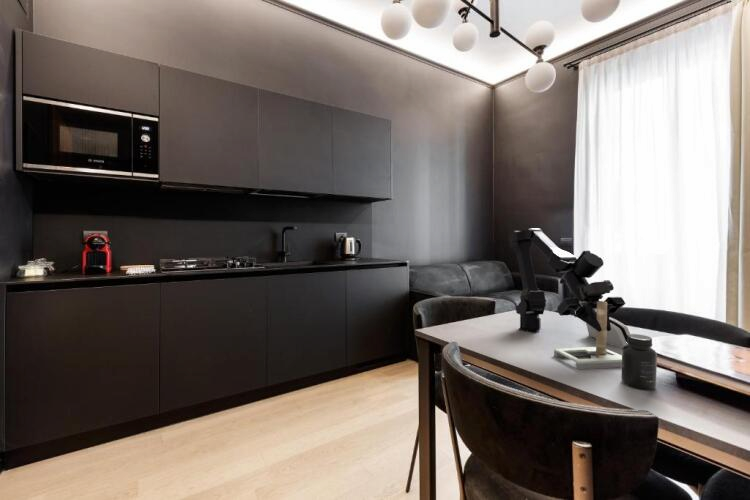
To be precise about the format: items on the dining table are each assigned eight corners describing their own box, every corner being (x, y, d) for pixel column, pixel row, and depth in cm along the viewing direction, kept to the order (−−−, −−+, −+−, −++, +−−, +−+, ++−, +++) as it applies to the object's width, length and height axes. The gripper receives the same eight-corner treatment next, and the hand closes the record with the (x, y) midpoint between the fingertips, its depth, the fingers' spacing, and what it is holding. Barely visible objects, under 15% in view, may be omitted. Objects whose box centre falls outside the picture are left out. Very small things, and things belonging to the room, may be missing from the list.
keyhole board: (579, 369, 95) (579, 361, 95) (554, 355, 106) (554, 348, 106) (630, 366, 97) (630, 359, 97) (600, 353, 108) (600, 346, 108)
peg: (594, 361, 100) (595, 303, 99) (588, 355, 105) (589, 300, 104) (614, 363, 99) (615, 303, 98) (607, 357, 104) (608, 300, 103)
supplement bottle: (614, 379, 88) (615, 333, 88) (639, 378, 89) (640, 332, 88) (637, 391, 82) (638, 341, 81) (664, 390, 82) (665, 340, 82)
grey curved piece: (640, 349, 111) (631, 320, 110) (627, 355, 110) (618, 326, 110) (601, 334, 127) (593, 309, 127) (589, 339, 127) (581, 314, 126)
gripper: (563, 271, 104) (589, 317, 93) (621, 270, 106) (652, 314, 95) (547, 293, 112) (569, 337, 101) (601, 291, 114) (628, 334, 103)
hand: (605, 330), depth 100 cm, fingers closed on peg, 2 cm apart
